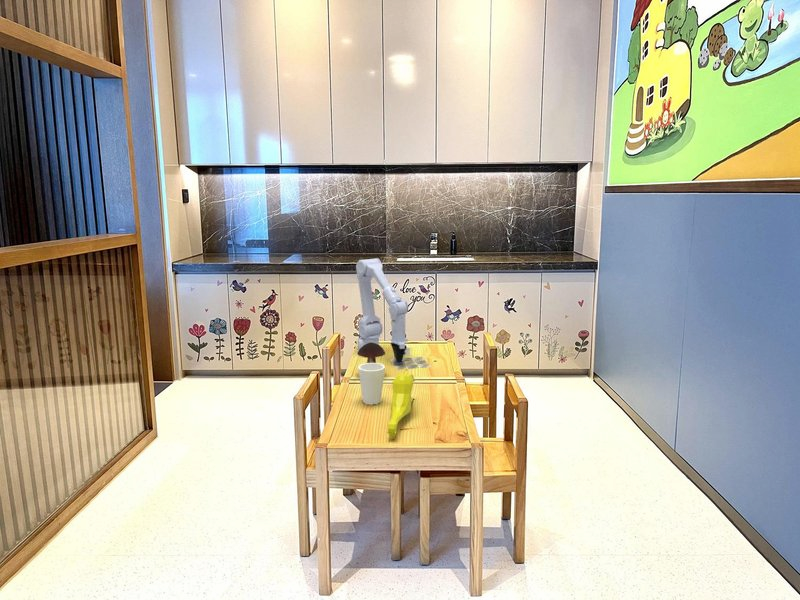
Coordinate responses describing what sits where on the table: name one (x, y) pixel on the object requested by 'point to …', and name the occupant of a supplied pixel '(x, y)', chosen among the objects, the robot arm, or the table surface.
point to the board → (412, 363)
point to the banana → (400, 400)
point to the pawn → (397, 362)
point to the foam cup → (371, 382)
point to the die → (407, 351)
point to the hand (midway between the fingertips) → (398, 360)
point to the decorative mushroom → (371, 352)
